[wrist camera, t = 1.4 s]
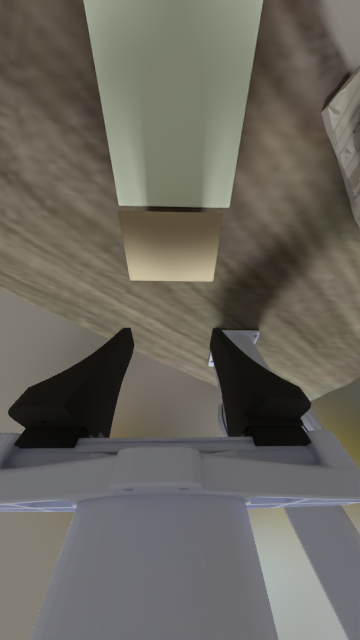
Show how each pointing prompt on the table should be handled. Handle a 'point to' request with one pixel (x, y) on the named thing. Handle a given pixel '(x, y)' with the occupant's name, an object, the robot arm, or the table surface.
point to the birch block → (170, 244)
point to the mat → (173, 95)
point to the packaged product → (347, 136)
